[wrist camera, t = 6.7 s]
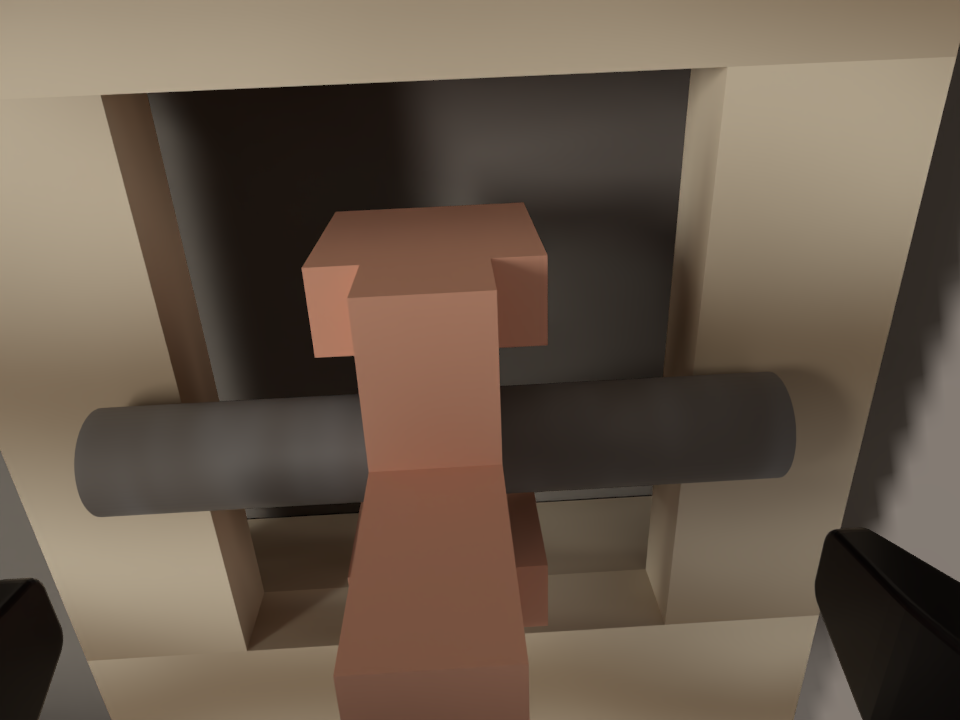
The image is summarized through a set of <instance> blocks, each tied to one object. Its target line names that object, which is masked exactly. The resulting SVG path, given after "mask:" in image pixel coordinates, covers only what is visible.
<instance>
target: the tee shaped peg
mask: <svg viewBox="0 0 960 720" xmlns="http://www.w3.org/2000/svg"><path fill="white" fill-rule="evenodd" d="M302 274H303V281H304V288H305V294H306V301H307V308H308V314H309V321H310V328H311V335H312V341H313V348H314V355H315V358H321V357H339V356H354V358H355V366H356V374H357V382H358V390H359V398H360V406H361V414H362V423H363V431H364V439H365V447H366V455H367V463H368V471H369V473H368V479H367V485H366V490H365V496H364V502H361V505H360V511H359V516H358V522H357V527H356V533H355V539H354V544H353V550H352V555H351V561H350V566H349V572H348V584H349V588H348V594H347V600H346V605H345V611H344V617H343V623H342V628H341V634H340V640H339V646H338V651H337V657H336V663H335V669H334V674H333V679H334V684H335V690H336V696H337V702H338V708H339V714H340V719H341V720H530V712H529V662H528V655H527V647H526V640H525V632H524V627H535V626H548V563H547V558H546V553H545V547H544V542H543V537H542V532H541V526H540V521H539V516H538V511H537V506H536V500H535V495H534V492H527V493H509V494H506V488H505V480H504V473H503V465H502V435H501V404H500V373H499V348H505V347H524V346H542V345H548V255H547V253H546V251H545V249H544V246H543V244H542V242H541V240H540V238H539V235H538V233H537V231H536V229H535V227H534V224H533V222H532V220H531V218H530V216H529V214H528V211H527V209H526V207H525V205H524V203H502V204H482V205H462V206H442V207H422V208H402V209H382V210H362V211H342V212H335V214H334V215H333V217H332V219H331V220H330V222H329V224H328V225H327V227H326V229H325V230H324V232H323V233H322V235H321V237H320V238H319V240H318V242H317V243H316V245H315V247H314V248H313V250H312V252H311V253H310V255H309V257H308V258H307V260H306V262H305V263H304V265H303V266H302Z"/></svg>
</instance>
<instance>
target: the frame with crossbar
mask: <svg viewBox="0 0 960 720" xmlns="http://www.w3.org/2000/svg"><path fill="white" fill-rule="evenodd" d="M959 44H960V0H0V450H1V453H2V455H3V458H4V460H5V462H6V465H7V467H8V470H9V472H10V475H11V477H12V479H13V482H14V484H15V487H16V489H17V492H18V494H19V496H20V499H21V501H22V504H23V506H24V509H25V511H26V513H27V516H28V518H29V521H30V523H31V526H32V528H33V530H34V533H35V535H36V538H37V540H38V543H39V545H40V547H41V550H42V552H43V555H44V557H45V560H46V562H47V564H48V567H49V569H50V572H51V574H52V577H53V579H54V581H55V584H56V586H57V589H58V591H59V593H60V596H61V598H62V601H63V603H64V606H65V608H66V610H67V613H68V615H69V618H70V620H71V623H72V625H73V627H74V630H75V632H76V635H77V637H78V640H79V642H80V644H81V647H82V649H83V652H84V654H85V657H86V659H87V661H88V664H89V666H90V669H91V671H92V674H93V676H94V678H95V681H96V683H97V686H98V688H99V691H100V693H101V695H102V698H103V700H104V703H105V705H106V708H107V710H108V712H109V715H110V717H111V720H341V719H340V714H339V708H338V702H337V696H336V690H335V684H334V679H333V674H334V669H335V663H336V657H337V651H338V646H339V640H340V634H341V628H342V623H343V617H344V611H345V605H346V600H347V594H348V588H349V584H348V572H349V566H350V561H351V555H352V550H353V544H354V539H355V533H356V527H357V522H358V516H359V513H351V514H334V515H317V516H300V517H283V518H266V519H249V520H247V516H246V512H245V509H251V508H268V507H286V506H303V505H320V504H337V503H354V502H364V496H365V490H366V485H367V479H368V473H369V471H368V463H367V455H366V447H365V439H364V431H363V423H362V414H361V406H360V398H359V394H347V395H328V396H310V397H292V398H274V399H255V400H237V401H219V398H218V393H217V389H216V385H215V381H214V376H213V372H212V368H211V364H210V359H209V355H208V351H207V347H206V342H205V338H204V334H203V330H202V325H201V321H200V317H199V313H198V308H197V304H196V300H195V296H194V291H193V287H192V283H191V279H190V274H189V270H188V266H187V262H186V257H185V253H184V249H183V245H182V240H181V236H180V232H179V228H178V223H177V219H176V215H175V211H174V206H173V202H172V198H171V194H170V189H169V185H168V181H167V177H166V172H165V168H164V164H163V160H162V155H161V151H160V147H159V143H158V138H157V134H156V130H155V126H154V121H153V117H152V113H151V109H150V104H149V100H148V96H147V93H155V92H178V91H200V90H222V89H245V88H267V87H289V86H312V85H334V84H356V83H379V82H401V81H423V80H446V79H468V78H491V77H513V76H535V75H558V74H580V73H602V72H625V71H647V70H669V69H691V74H690V85H689V96H688V107H687V118H686V129H685V140H684V151H683V162H682V174H681V185H680V196H679V207H678V218H677V229H676V240H675V251H674V262H673V273H672V284H671V295H670V306H669V317H668V328H667V339H666V350H665V361H664V372H663V377H658V378H640V379H621V380H603V381H585V382H566V383H548V384H530V385H512V386H500V404H501V435H502V465H503V473H504V480H505V488H506V494H509V493H527V492H544V491H561V490H578V489H595V488H613V487H630V486H647V485H653V494H652V496H642V497H625V498H608V499H591V500H574V501H557V502H540V503H536V506H537V511H538V516H539V521H540V526H541V532H542V537H543V542H544V547H545V553H546V558H547V563H548V626H535V627H524V632H525V640H526V647H527V655H528V662H529V712H530V720H793V719H794V715H795V711H796V707H797V703H798V699H799V695H800V691H801V686H802V682H803V678H804V674H805V670H806V666H807V662H808V658H809V654H810V650H811V646H812V642H813V638H814V634H815V630H816V625H817V621H818V617H819V613H820V609H819V607H818V604H817V601H816V597H815V578H816V574H817V569H818V565H819V561H820V557H821V552H822V548H823V544H824V540H825V537H826V535H827V534H828V533H829V532H830V531H832V530H834V529H840V528H841V524H842V520H843V516H844V512H845V508H846V504H847V500H848V495H849V491H850V487H851V483H852V479H853V475H854V471H855V467H856V463H857V459H858V455H859V451H860V447H861V443H862V439H863V434H864V430H865V426H866V422H867V418H868V414H869V410H870V406H871V402H872V398H873V394H874V390H875V386H876V382H877V378H878V374H879V369H880V365H881V361H882V357H883V353H884V349H885V345H886V341H887V337H888V333H889V329H890V325H891V321H892V317H893V313H894V309H895V304H896V300H897V296H898V292H899V288H900V284H901V280H902V276H903V272H904V268H905V264H906V260H907V256H908V252H909V248H910V243H911V239H912V235H913V231H914V227H915V223H916V219H917V215H918V211H919V207H920V203H921V199H922V195H923V191H924V187H925V183H926V178H927V174H928V170H929V166H930V162H931V158H932V154H933V150H934V146H935V142H936V138H937V134H938V130H939V126H940V122H941V118H942V113H943V109H944V105H945V101H946V97H947V93H948V89H949V85H950V81H951V77H952V73H953V69H954V65H955V61H956V57H957V52H958V48H959Z"/></svg>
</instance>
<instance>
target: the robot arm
mask: <svg viewBox="0 0 960 720" xmlns="http://www.w3.org/2000/svg"><path fill="white" fill-rule="evenodd" d="M815 597H816V601H817V604H818V607H819V609H820V612H821V615H822V617H823V620H824V622H825V625H826V627H827V630H828V633H829V635H830V638H831V640H832V643H833V646H834V648H835V651H836V653H837V656H838V658H839V661H840V664H841V666H842V669H843V671H844V674H845V676H846V679H847V682H848V684H849V687H850V689H851V692H852V694H853V697H854V700H855V702H856V705H857V707H858V710H859V712H860V714H861V717H862V719H863V720H960V582H958V581H956V580H954V579H953V578H951V577H950V576H948V575H946V574H944V573H943V572H941V571H939V570H938V569H936V568H934V567H933V566H931V565H929V564H927V563H926V562H924V561H922V560H921V559H919V558H917V557H916V556H914V555H912V554H910V553H909V552H907V551H905V550H904V549H902V548H900V547H899V546H897V545H895V544H893V543H892V542H890V541H888V540H887V539H885V538H883V537H882V536H880V535H878V534H876V533H875V532H873V531H871V530H869V529H866V528H846V529H834V530H832V531H830V532H829V533H828V534H827V535H826V537H825V540H824V544H823V548H822V552H821V557H820V561H819V565H818V569H817V574H816V578H815ZM62 645H63V632H62V628H61V625H60V623H59V620H58V618H57V615H56V613H55V611H54V608H53V606H52V604H51V601H50V599H49V596H48V594H47V592H46V589H45V587H44V585H43V584H42V583H41V582H40V581H39V580H37V579H34V578H19V579H4V580H0V720H38V719H39V716H40V713H41V710H42V707H43V704H44V701H45V698H46V695H47V692H48V689H49V687H50V684H51V681H52V678H53V675H54V672H55V669H56V666H57V663H58V660H59V657H60V654H61V650H62Z"/></svg>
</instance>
